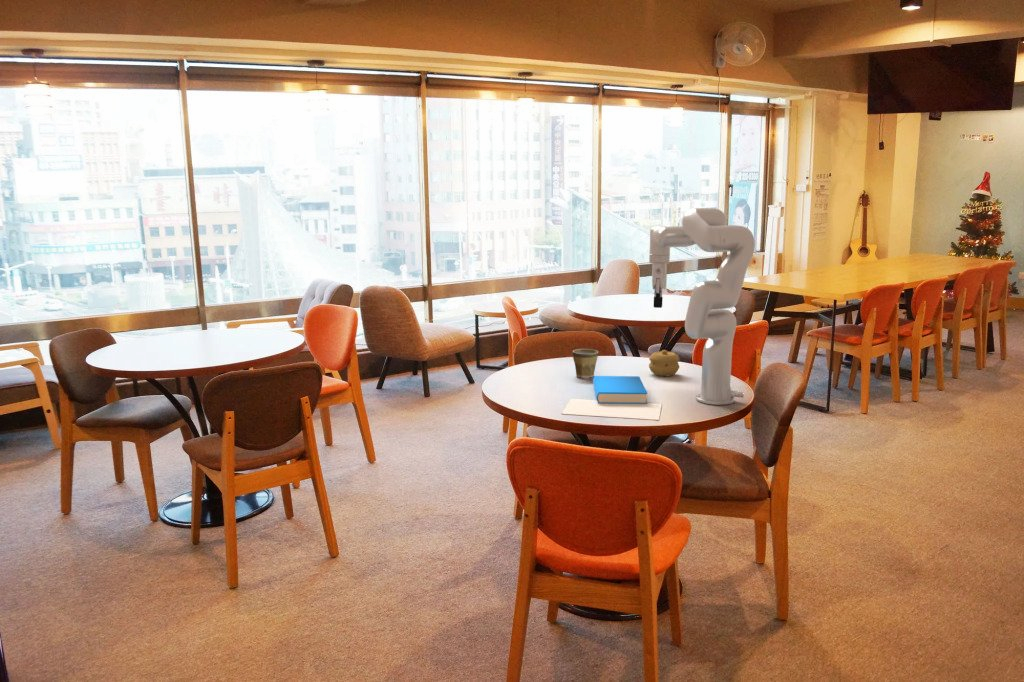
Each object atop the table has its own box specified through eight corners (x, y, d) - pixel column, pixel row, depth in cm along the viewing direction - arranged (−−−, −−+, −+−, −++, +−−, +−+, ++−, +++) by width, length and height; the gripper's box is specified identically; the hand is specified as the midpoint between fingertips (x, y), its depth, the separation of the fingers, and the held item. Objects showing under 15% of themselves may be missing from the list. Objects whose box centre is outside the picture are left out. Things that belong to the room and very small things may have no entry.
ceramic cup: (598, 379, 305) (599, 354, 303) (572, 379, 305) (573, 353, 303) (596, 372, 317) (596, 347, 315) (570, 371, 318) (571, 347, 316)
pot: (676, 371, 318) (677, 347, 316) (681, 378, 306) (682, 353, 304) (646, 371, 318) (647, 347, 316) (650, 378, 306) (651, 353, 304)
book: (639, 376, 293) (648, 391, 268) (638, 387, 294) (647, 404, 269) (592, 375, 294) (597, 391, 269) (592, 387, 294) (596, 403, 270)
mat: (661, 404, 269) (661, 404, 269) (658, 420, 251) (658, 419, 251) (570, 399, 276) (570, 398, 276) (561, 414, 258) (561, 413, 258)
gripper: (668, 261, 293) (666, 310, 297) (670, 257, 307) (668, 304, 311) (648, 260, 295) (646, 309, 298) (650, 257, 309) (649, 304, 313)
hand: (657, 307), depth 305 cm, fingers closed
